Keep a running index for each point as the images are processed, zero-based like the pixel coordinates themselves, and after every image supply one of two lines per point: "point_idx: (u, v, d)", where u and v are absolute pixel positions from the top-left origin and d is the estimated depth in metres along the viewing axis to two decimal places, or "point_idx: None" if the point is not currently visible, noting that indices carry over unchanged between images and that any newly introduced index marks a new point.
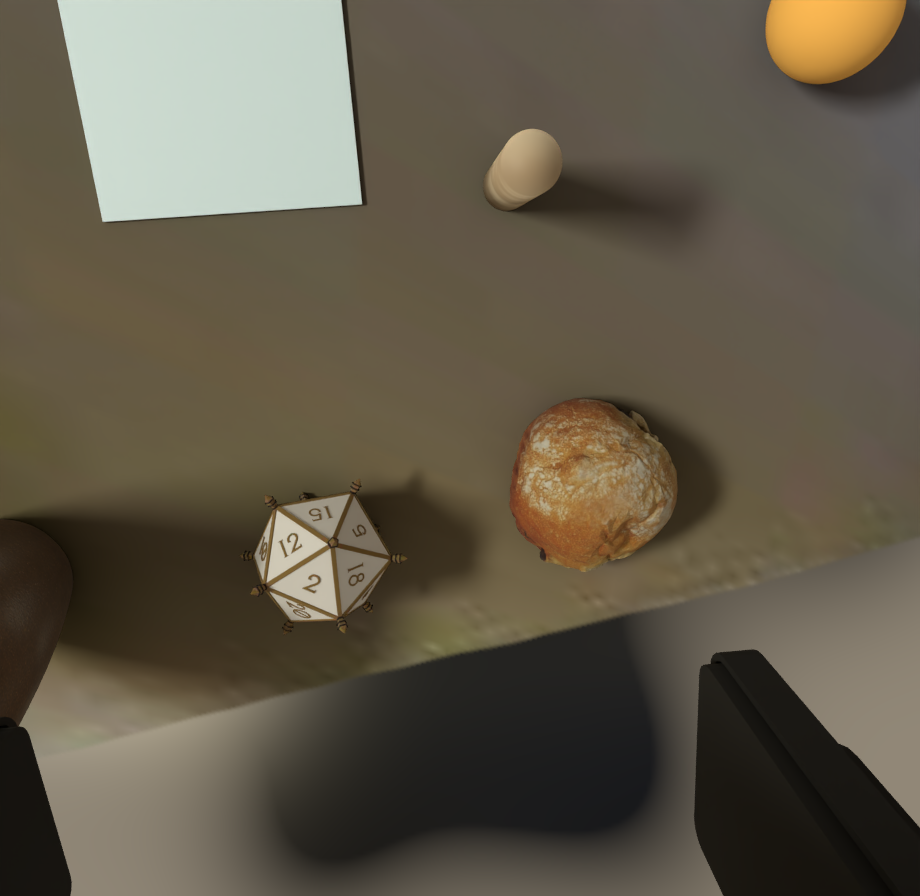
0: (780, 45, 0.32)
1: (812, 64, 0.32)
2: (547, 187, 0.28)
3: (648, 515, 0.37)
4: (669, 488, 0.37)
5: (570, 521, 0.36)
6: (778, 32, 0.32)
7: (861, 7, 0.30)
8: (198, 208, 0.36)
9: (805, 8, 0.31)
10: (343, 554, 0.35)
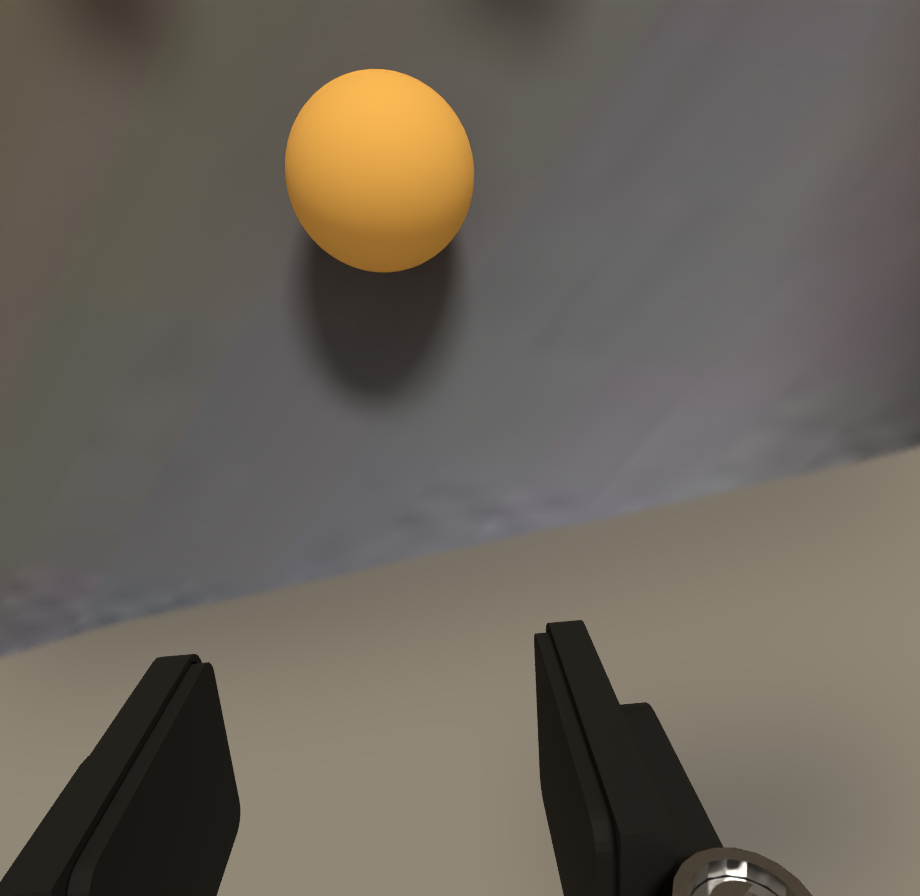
0: None
1: (294, 125, 0.20)
2: None
3: None
4: None
5: None
6: None
7: (349, 150, 0.18)
8: None
9: (360, 80, 0.19)
10: None
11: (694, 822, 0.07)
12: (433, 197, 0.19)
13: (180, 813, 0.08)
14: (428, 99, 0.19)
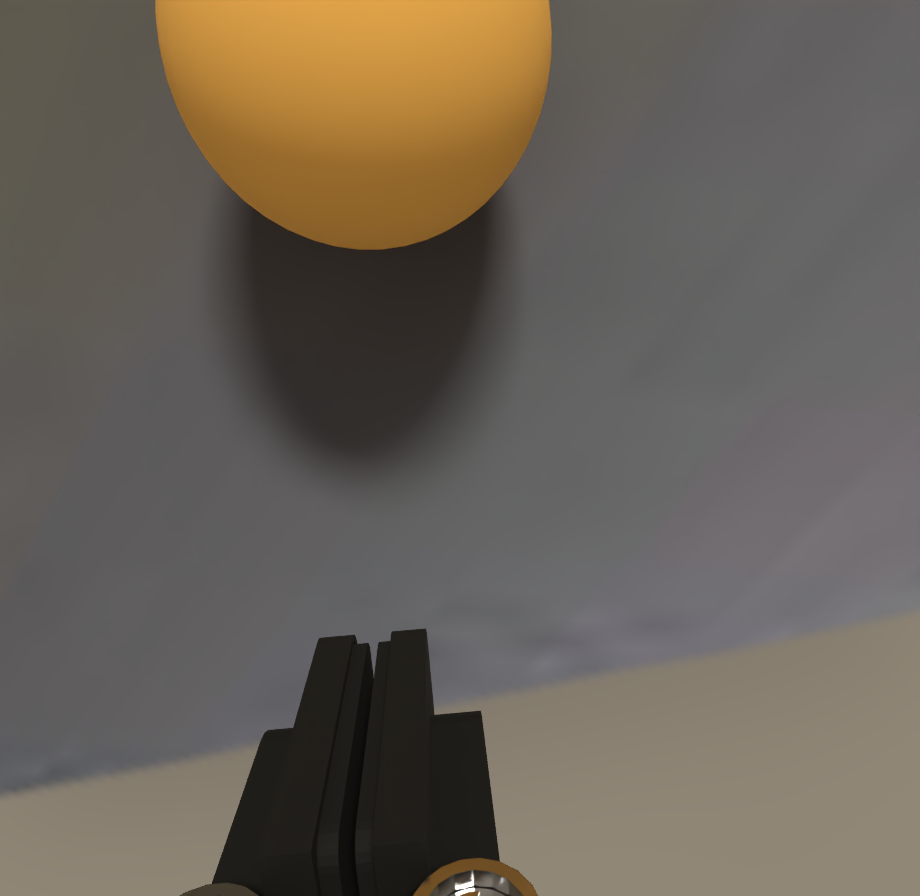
0: None
1: None
2: None
3: None
4: None
5: None
6: None
7: None
8: None
9: None
10: None
11: (481, 831, 0.07)
12: (473, 77, 0.09)
13: None
14: None
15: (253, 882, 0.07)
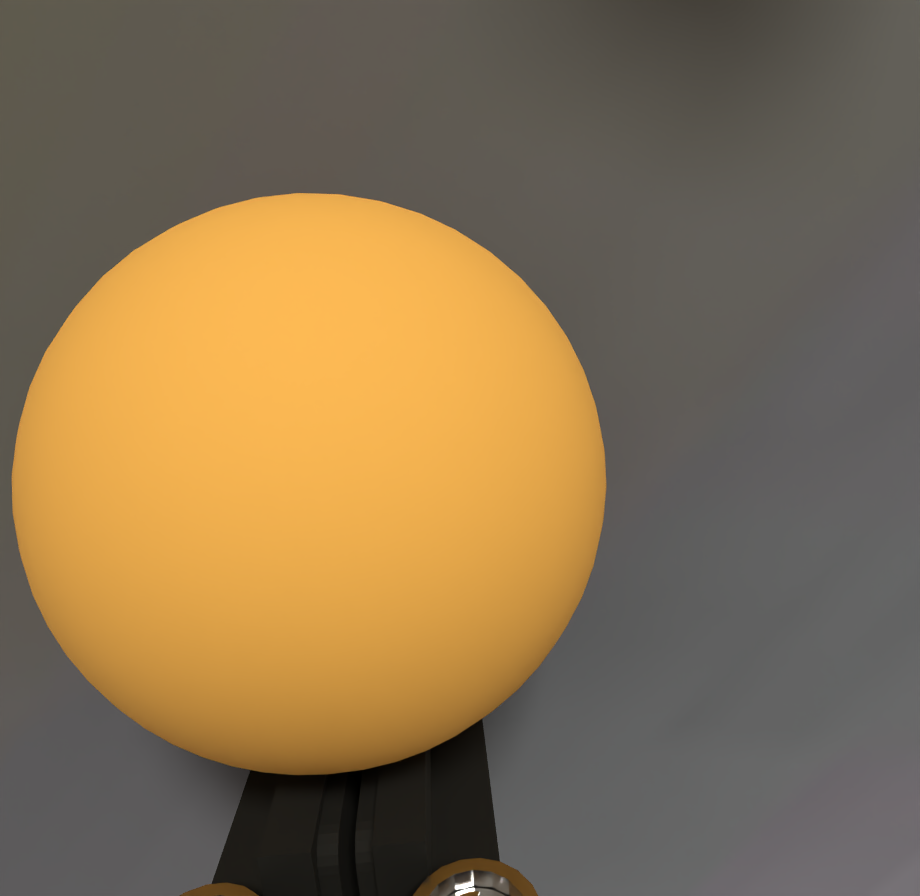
0: None
1: None
2: None
3: None
4: None
5: None
6: (219, 208, 0.06)
7: (176, 564, 0.05)
8: None
9: (242, 258, 0.05)
10: None
11: (480, 832, 0.07)
12: (499, 664, 0.06)
13: None
14: (492, 324, 0.05)
15: (253, 882, 0.07)
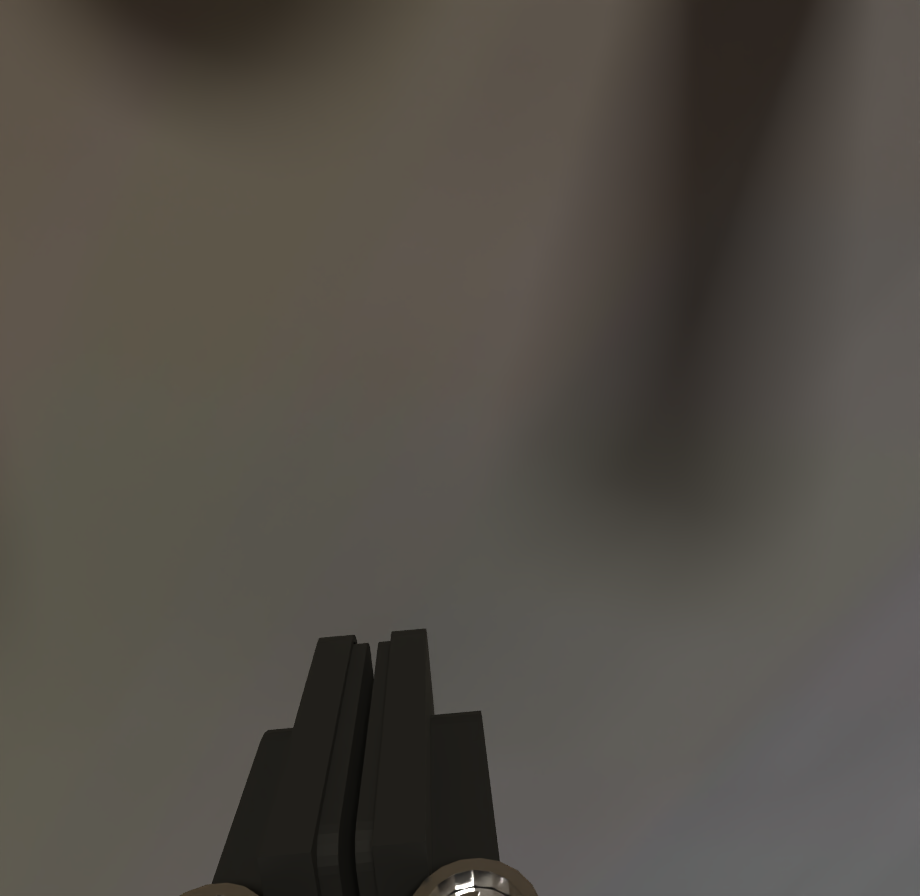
0: None
1: None
2: None
3: None
4: None
5: None
6: None
7: None
8: None
9: None
10: None
11: (481, 831, 0.07)
12: None
13: None
14: None
15: (253, 882, 0.07)
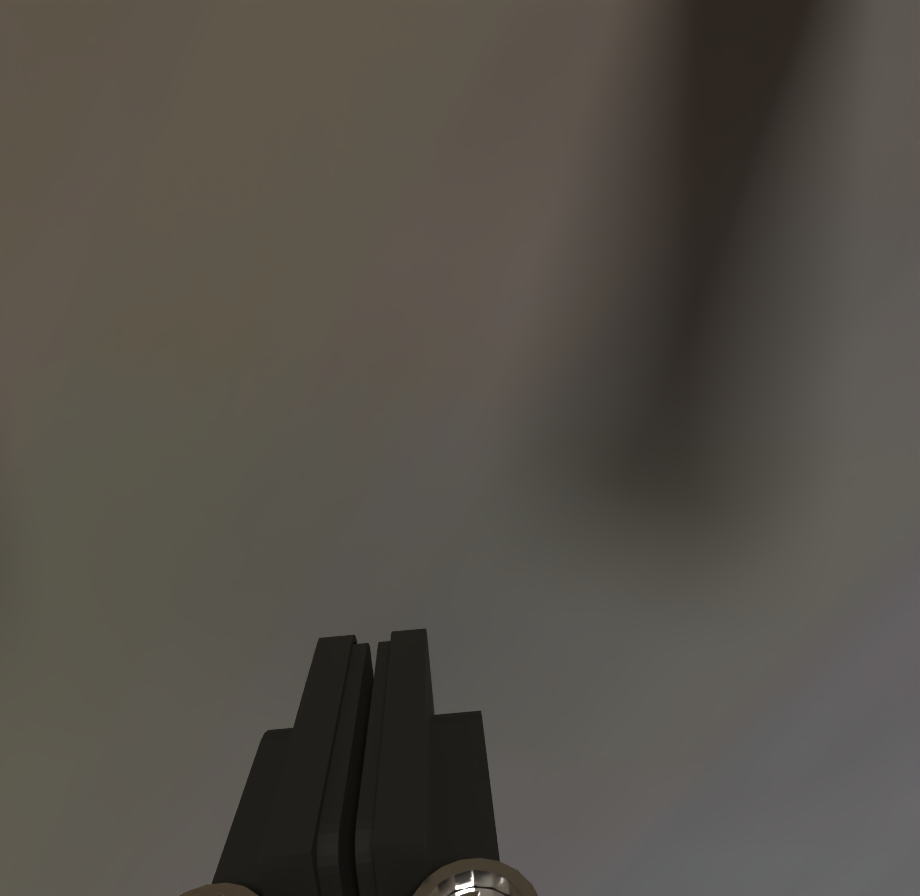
0: None
1: None
2: None
3: None
4: None
5: None
6: None
7: None
8: None
9: None
10: None
11: (481, 831, 0.07)
12: None
13: None
14: None
15: (253, 882, 0.07)
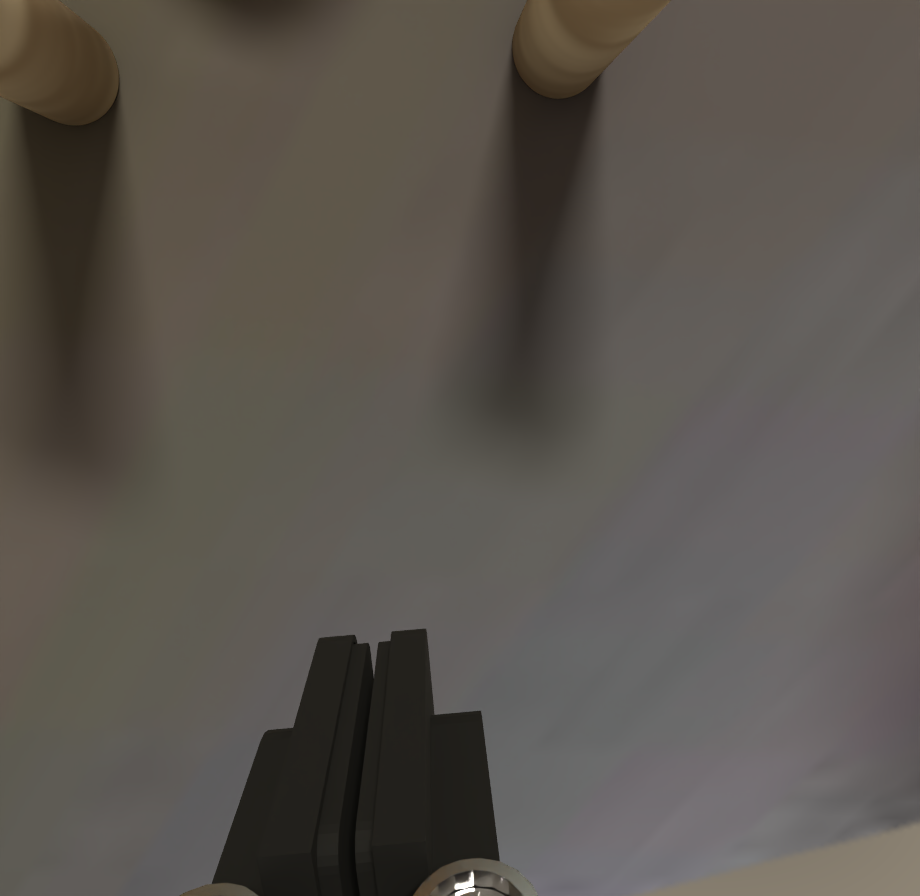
0: None
1: None
2: None
3: None
4: None
5: None
6: None
7: None
8: None
9: None
10: None
11: (481, 832, 0.07)
12: None
13: None
14: None
15: (253, 882, 0.07)
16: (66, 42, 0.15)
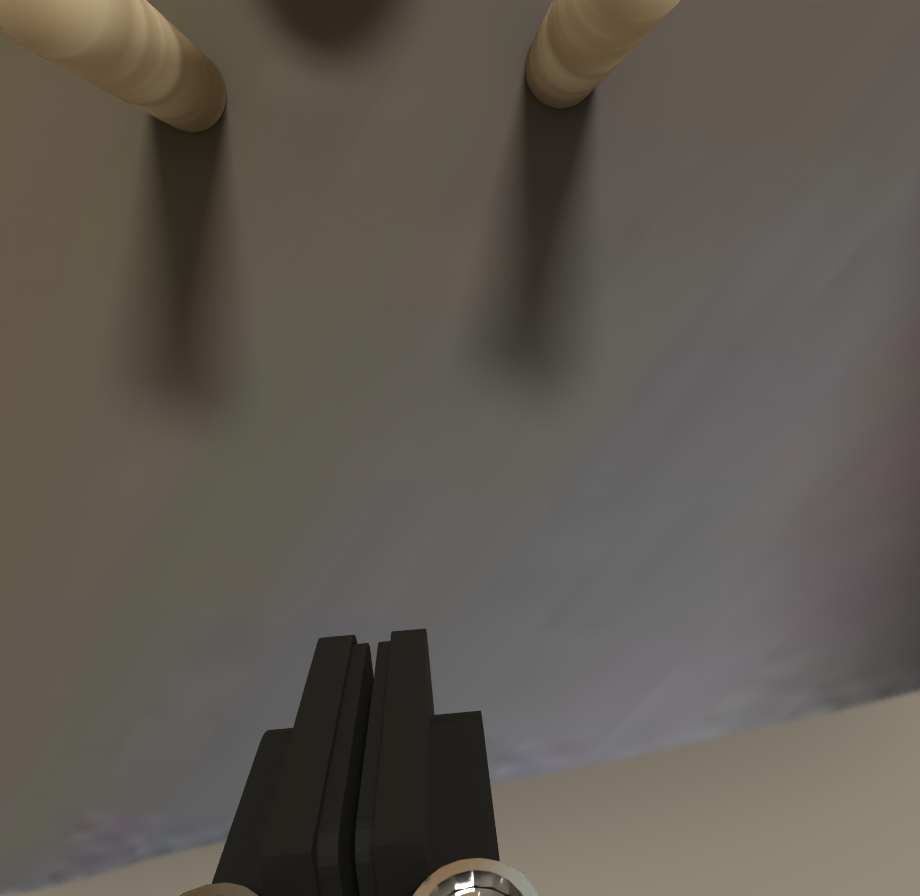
0: None
1: None
2: (6, 26, 0.15)
3: None
4: None
5: None
6: None
7: None
8: None
9: None
10: None
11: (480, 832, 0.07)
12: None
13: None
14: None
15: (253, 882, 0.07)
16: (199, 75, 0.20)
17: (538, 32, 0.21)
